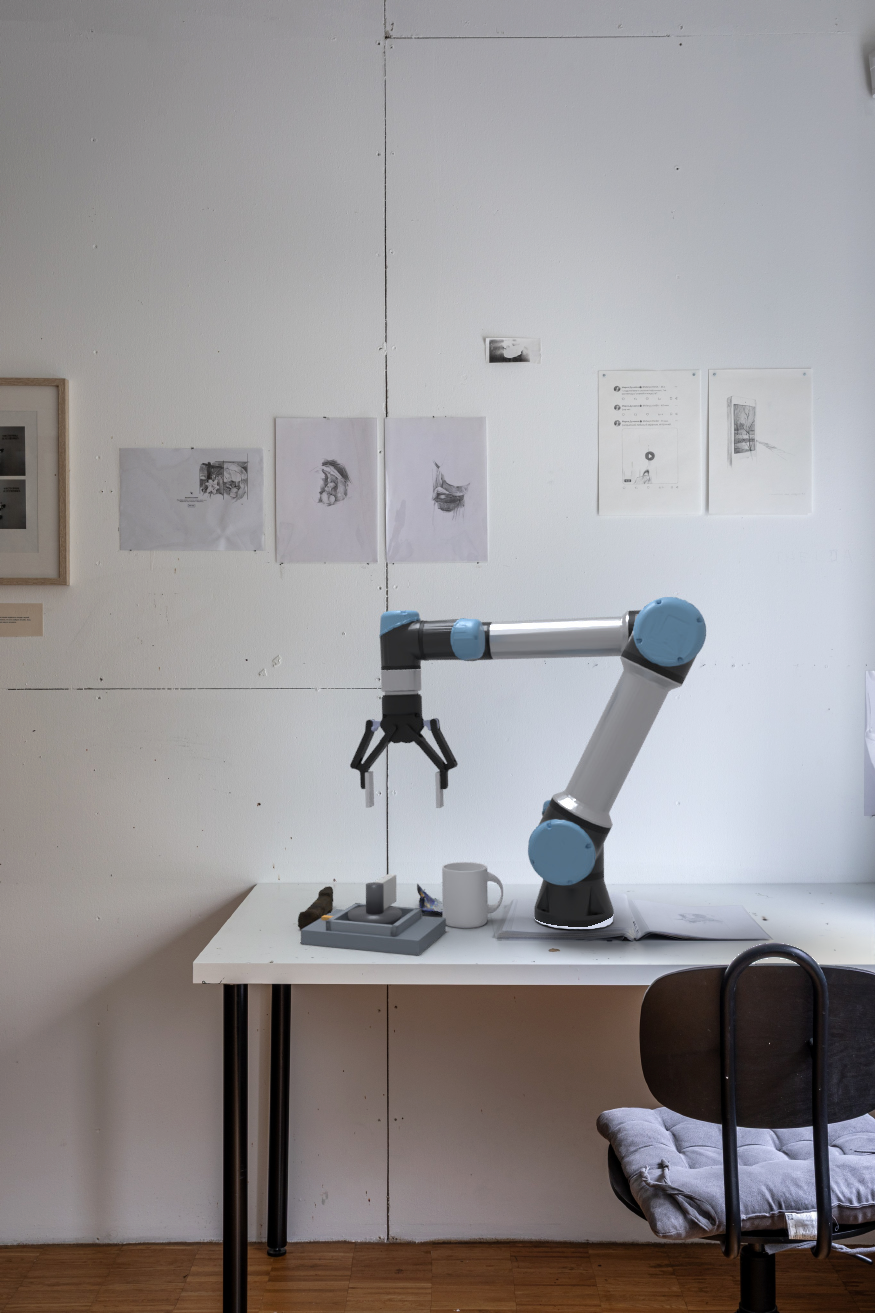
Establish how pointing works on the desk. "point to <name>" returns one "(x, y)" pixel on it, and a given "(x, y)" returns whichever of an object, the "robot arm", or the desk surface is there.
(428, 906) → the snack package
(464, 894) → the mug
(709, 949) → the desk surface
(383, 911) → the dial
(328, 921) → the panel
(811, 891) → the desk surface
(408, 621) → the robot arm
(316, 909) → the dark brown lumpy bar
